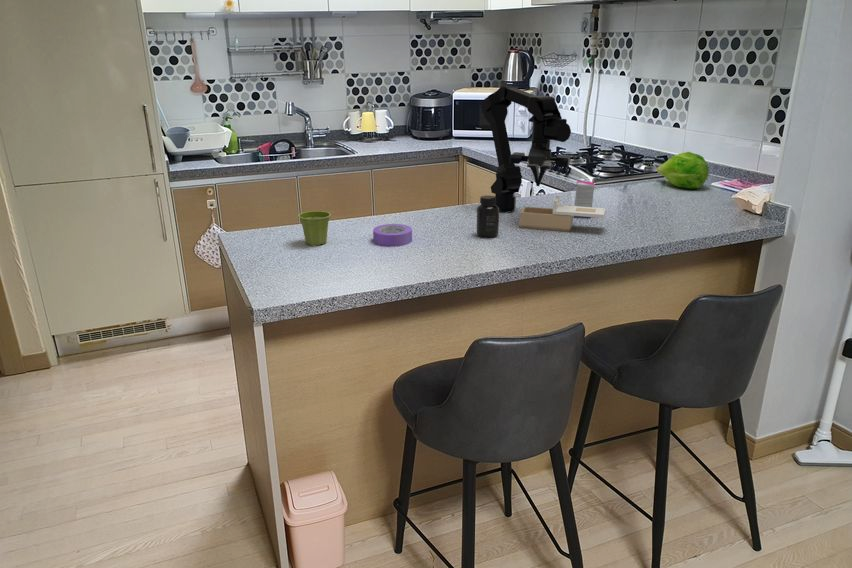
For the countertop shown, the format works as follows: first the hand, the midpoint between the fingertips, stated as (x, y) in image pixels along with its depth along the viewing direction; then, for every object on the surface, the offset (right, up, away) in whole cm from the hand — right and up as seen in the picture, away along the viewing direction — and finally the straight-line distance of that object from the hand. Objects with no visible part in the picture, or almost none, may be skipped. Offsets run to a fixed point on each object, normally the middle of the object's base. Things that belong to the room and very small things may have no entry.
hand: (538, 186), depth 217 cm
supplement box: (+17, -9, +10) cm, 22 cm away
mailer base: (+2, -13, -2) cm, 14 cm away
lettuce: (+66, +8, +54) cm, 85 cm away
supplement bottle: (-18, -17, -11) cm, 27 cm away
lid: (+12, -9, -7) cm, 17 cm away
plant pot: (-69, -20, -18) cm, 74 cm away
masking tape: (-47, -19, -16) cm, 53 cm away
